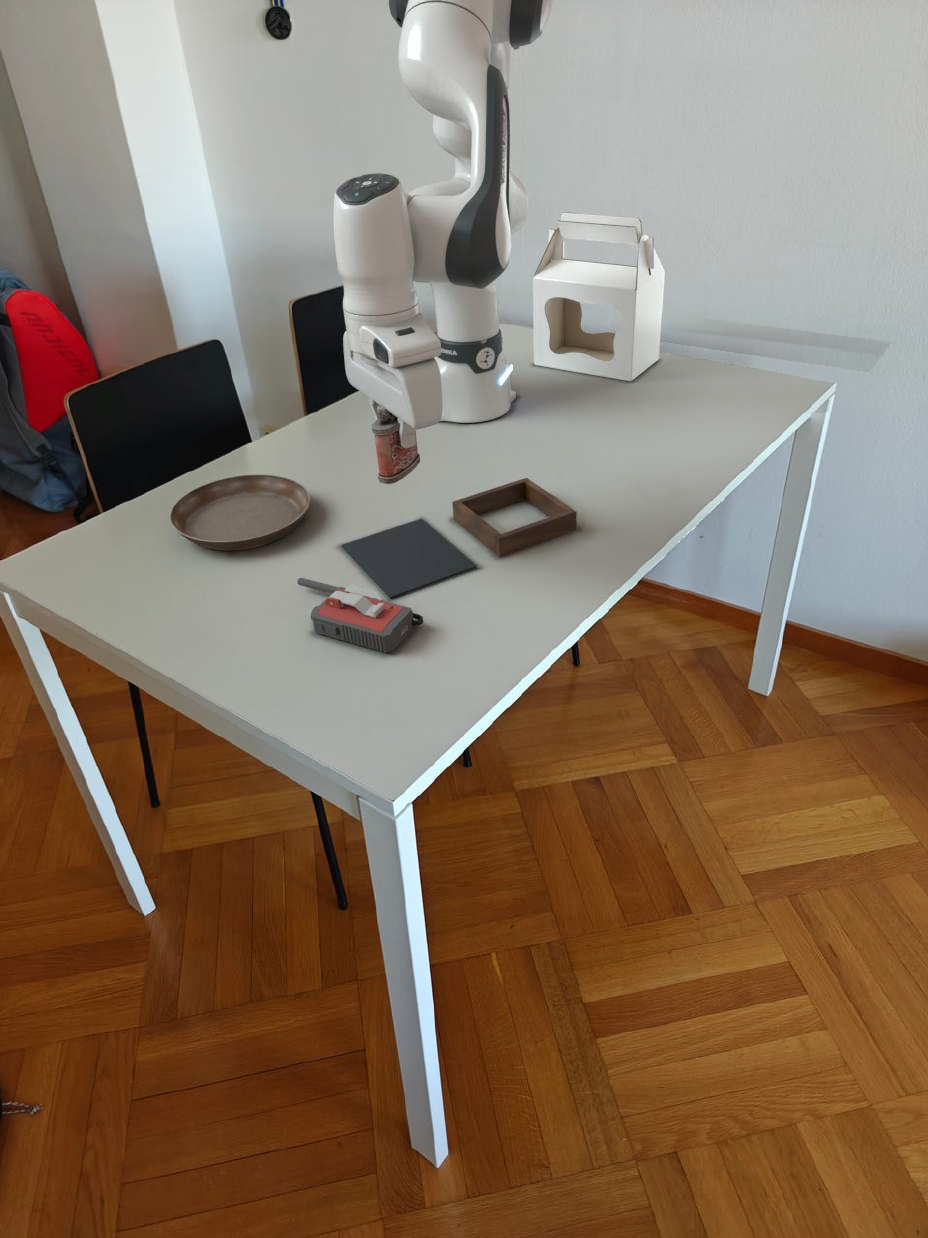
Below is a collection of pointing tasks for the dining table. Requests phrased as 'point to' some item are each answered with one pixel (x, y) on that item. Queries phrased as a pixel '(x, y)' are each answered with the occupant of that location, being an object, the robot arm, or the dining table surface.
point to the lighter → (392, 449)
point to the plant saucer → (240, 511)
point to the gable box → (598, 300)
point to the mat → (407, 558)
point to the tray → (520, 538)
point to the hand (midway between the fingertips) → (396, 437)
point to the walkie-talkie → (361, 617)
